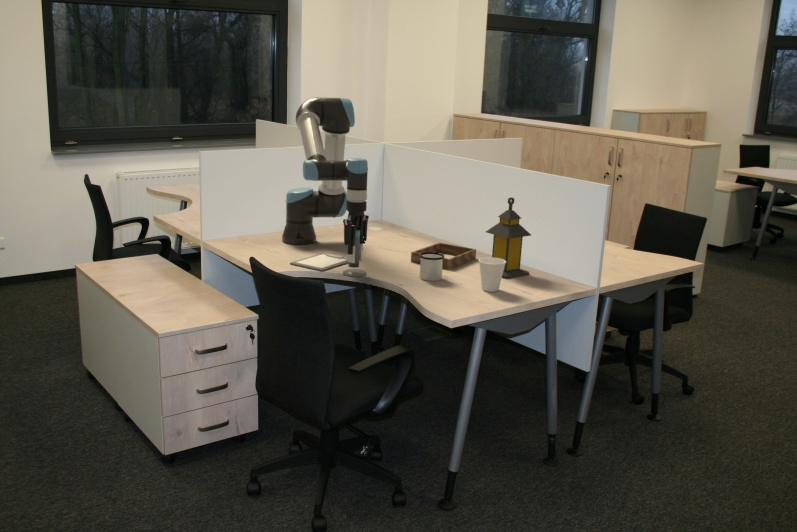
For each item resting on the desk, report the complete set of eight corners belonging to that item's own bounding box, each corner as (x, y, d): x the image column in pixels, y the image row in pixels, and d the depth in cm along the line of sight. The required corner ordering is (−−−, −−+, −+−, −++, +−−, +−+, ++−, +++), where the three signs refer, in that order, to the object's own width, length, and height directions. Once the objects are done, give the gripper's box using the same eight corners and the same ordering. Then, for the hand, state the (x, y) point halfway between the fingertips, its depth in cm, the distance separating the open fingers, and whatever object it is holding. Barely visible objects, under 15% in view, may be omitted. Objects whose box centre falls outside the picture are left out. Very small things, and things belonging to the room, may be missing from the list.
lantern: (480, 270, 297) (485, 196, 289) (505, 266, 305) (511, 193, 297) (505, 279, 286) (511, 202, 278) (530, 274, 294) (537, 199, 287)
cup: (474, 285, 276) (476, 256, 273) (500, 286, 277) (502, 257, 274) (479, 293, 266) (481, 263, 263) (506, 294, 267) (509, 264, 264)
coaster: (352, 269, 291) (352, 267, 291) (370, 273, 286) (371, 271, 286) (338, 273, 283) (338, 272, 283) (357, 278, 279) (357, 276, 279)
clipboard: (321, 254, 310) (321, 251, 310) (352, 261, 302) (352, 258, 302) (290, 264, 294) (290, 261, 293) (322, 271, 286) (322, 268, 285)
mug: (435, 283, 277) (436, 259, 274) (413, 278, 282) (414, 255, 279) (450, 276, 287) (452, 253, 284) (429, 272, 291) (430, 249, 289)
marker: (352, 264, 287) (353, 228, 283) (361, 265, 285) (362, 230, 281) (346, 266, 283) (347, 230, 280) (355, 268, 282) (356, 231, 278)
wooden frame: (438, 251, 324) (439, 242, 323) (475, 258, 315) (476, 249, 314) (410, 261, 305) (411, 252, 304) (449, 269, 296) (449, 259, 295)
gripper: (361, 196, 286) (359, 255, 292) (334, 202, 272) (333, 263, 278) (377, 198, 282) (375, 258, 289) (351, 204, 269) (349, 267, 275)
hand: (354, 261), depth 283 cm, fingers closed on marker, 4 cm apart
